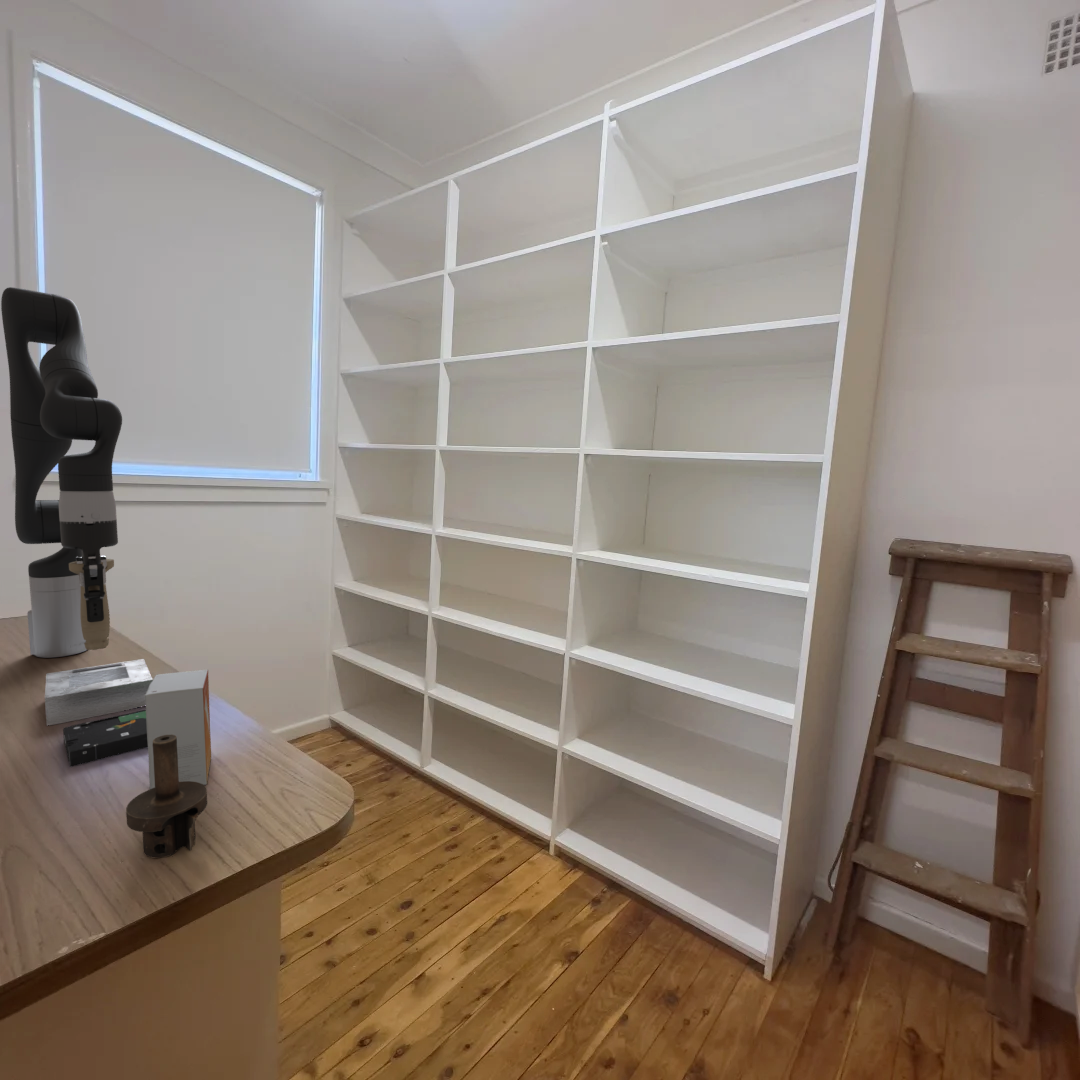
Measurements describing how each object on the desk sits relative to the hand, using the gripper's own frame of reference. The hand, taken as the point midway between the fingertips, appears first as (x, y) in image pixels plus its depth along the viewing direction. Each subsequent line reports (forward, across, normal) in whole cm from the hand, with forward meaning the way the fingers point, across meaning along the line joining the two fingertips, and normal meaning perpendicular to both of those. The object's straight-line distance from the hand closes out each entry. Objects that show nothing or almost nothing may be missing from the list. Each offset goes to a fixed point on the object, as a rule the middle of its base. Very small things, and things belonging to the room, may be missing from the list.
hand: (95, 618), depth 98 cm
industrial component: (+15, +52, +4) cm, 54 cm away
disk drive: (+16, +20, +3) cm, 25 cm away
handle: (+5, 0, 0) cm, 5 cm away
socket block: (+15, 0, 0) cm, 15 cm away
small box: (+15, +37, +7) cm, 40 cm away
